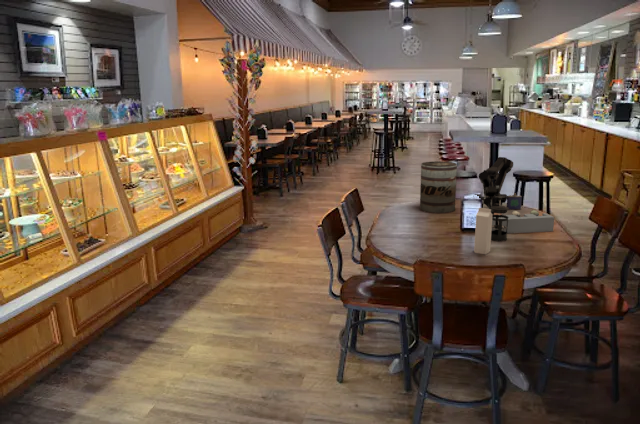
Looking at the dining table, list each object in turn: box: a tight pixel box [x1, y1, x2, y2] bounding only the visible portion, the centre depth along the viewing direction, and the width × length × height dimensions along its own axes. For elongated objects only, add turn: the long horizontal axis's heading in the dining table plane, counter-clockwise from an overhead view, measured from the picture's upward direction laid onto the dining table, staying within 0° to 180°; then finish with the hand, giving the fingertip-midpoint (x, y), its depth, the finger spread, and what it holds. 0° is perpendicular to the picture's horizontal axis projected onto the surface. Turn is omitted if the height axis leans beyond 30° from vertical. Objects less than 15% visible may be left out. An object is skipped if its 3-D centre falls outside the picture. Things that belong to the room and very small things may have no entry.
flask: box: [506, 192, 523, 211], centre depth 333 cm, size 9×3×11 cm, turn 88°
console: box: [492, 212, 555, 235], centre depth 287 cm, size 9×32×8 cm, turn 96°
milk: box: [473, 207, 493, 255], centre depth 250 cm, size 6×6×22 cm
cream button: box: [511, 210, 521, 217], centre depth 292 cm, size 5×4×4 cm
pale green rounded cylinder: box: [529, 209, 540, 216], centre depth 293 cm, size 5×4×4 cm
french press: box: [491, 196, 509, 242], centre depth 271 cm, size 12×9×23 cm
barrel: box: [419, 160, 458, 215], centre depth 335 cm, size 22×22×30 cm
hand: (491, 210), depth 298 cm, fingers closed
